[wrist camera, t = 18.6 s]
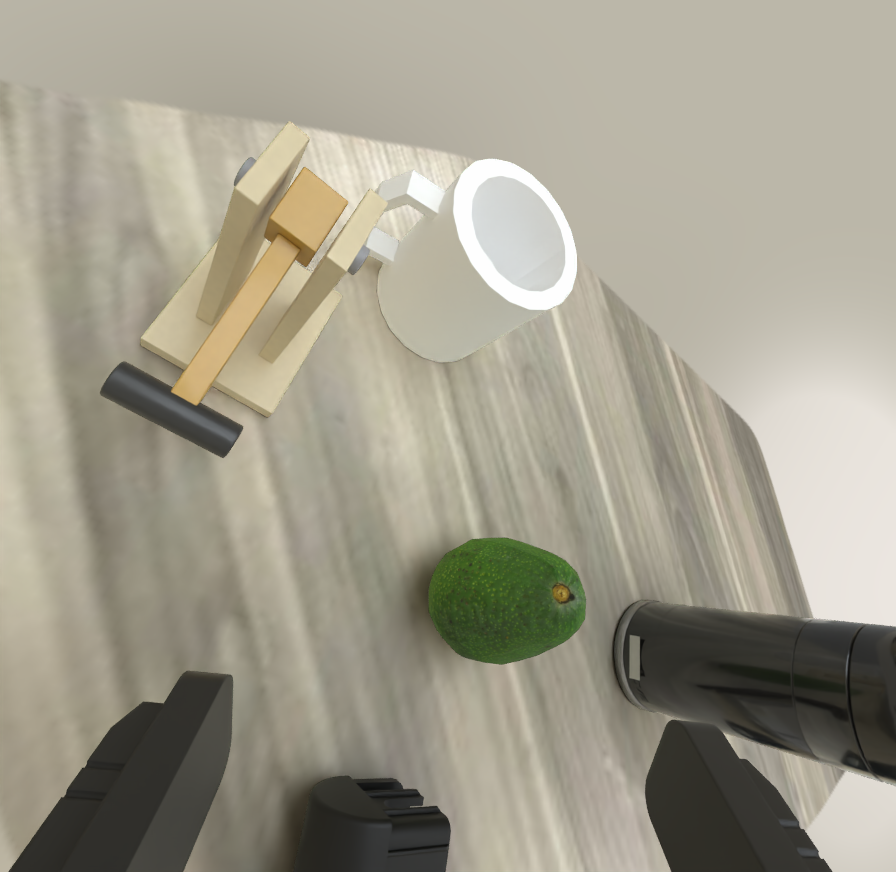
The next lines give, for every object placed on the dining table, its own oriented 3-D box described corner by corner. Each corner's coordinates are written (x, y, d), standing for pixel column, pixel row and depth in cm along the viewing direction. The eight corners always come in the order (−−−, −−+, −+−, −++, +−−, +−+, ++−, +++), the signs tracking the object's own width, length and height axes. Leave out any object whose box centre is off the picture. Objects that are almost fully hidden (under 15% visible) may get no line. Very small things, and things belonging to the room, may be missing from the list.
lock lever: (223, 456, 22) (224, 460, 20) (106, 395, 20) (93, 393, 18) (361, 240, 24) (375, 223, 22) (268, 167, 22) (274, 140, 20)
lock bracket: (267, 418, 31) (348, 344, 20) (139, 345, 28) (149, 208, 17) (336, 302, 35) (436, 187, 24) (232, 228, 32) (289, 54, 21)
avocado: (480, 526, 39) (603, 518, 29) (504, 626, 38) (637, 654, 28) (390, 555, 34) (499, 559, 24) (416, 670, 33) (538, 721, 24)
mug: (319, 309, 35) (385, 228, 26) (355, 197, 38) (423, 92, 29) (474, 381, 41) (569, 336, 32) (493, 280, 44) (583, 214, 35)
